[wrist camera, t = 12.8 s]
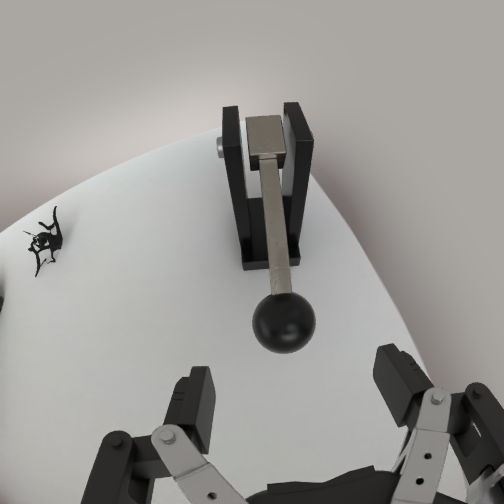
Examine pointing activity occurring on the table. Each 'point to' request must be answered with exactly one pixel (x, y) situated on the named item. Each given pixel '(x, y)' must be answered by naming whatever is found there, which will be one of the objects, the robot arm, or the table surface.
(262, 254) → the black lever mount
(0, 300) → the box
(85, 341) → the table surface
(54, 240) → the creature
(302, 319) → the lever
